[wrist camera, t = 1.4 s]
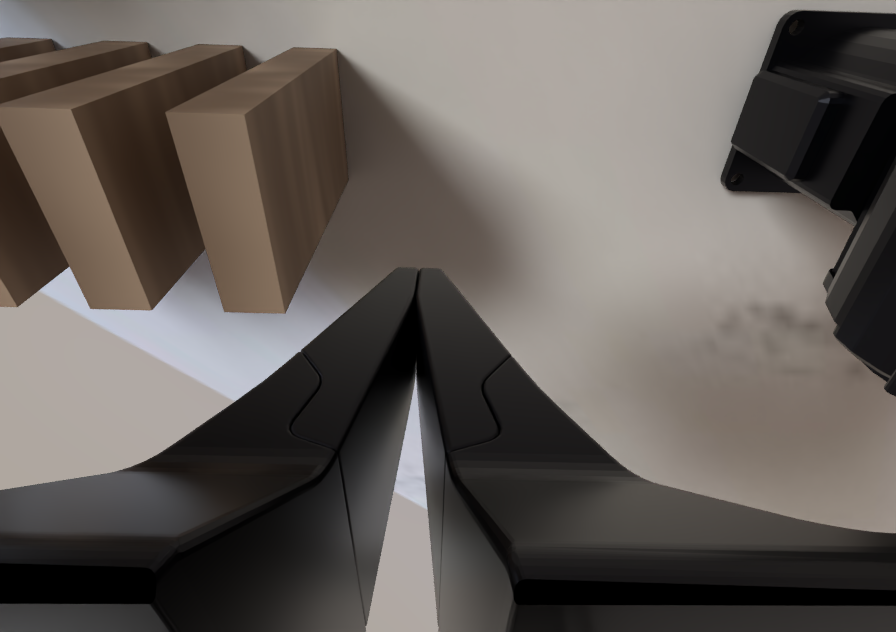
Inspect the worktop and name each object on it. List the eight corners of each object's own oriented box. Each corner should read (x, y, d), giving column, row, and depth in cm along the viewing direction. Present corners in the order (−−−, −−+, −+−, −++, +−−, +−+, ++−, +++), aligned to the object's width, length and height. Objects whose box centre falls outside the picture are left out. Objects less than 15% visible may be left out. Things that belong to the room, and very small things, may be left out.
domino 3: (336, 48, 18) (244, 114, 10) (348, 179, 21) (285, 313, 13) (293, 47, 18) (165, 112, 10) (311, 178, 21) (224, 311, 13)
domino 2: (242, 45, 18) (70, 109, 10) (267, 177, 21) (151, 310, 13) (198, 44, 18) (-10, 106, 10) (230, 176, 21) (90, 308, 13)
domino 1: (146, 42, 18) (-105, 104, 10) (185, 174, 21) (17, 306, 13) (103, 40, 18) (-186, 101, 10) (148, 173, 21) (-45, 305, 13)
